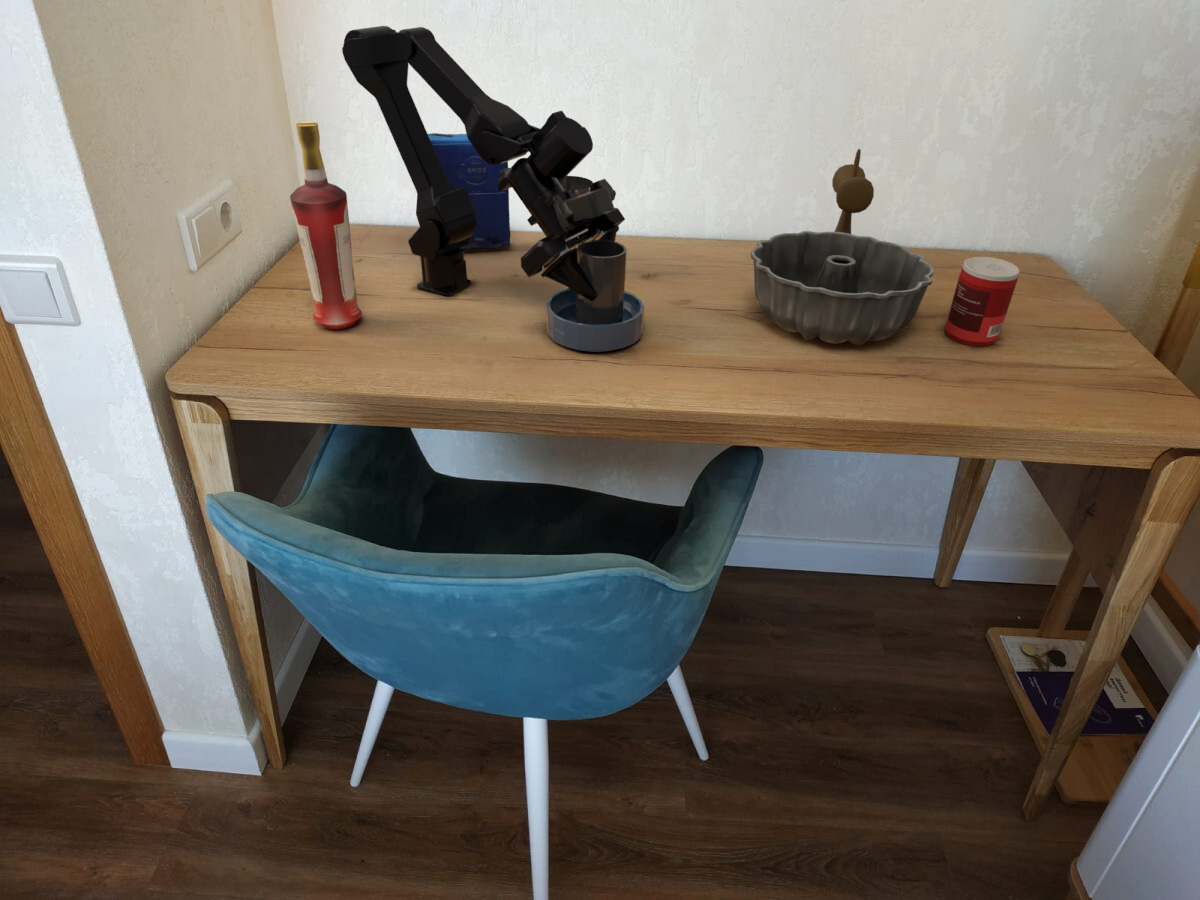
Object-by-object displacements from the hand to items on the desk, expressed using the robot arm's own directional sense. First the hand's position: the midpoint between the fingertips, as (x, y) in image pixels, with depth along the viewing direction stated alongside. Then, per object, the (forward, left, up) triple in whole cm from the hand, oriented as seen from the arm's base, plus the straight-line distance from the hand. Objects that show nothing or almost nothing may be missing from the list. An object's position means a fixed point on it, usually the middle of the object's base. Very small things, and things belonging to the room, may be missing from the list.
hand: (608, 290), depth 117 cm
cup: (-1, 0, -7) cm, 7 cm away
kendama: (+22, +47, -7) cm, 52 cm away
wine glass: (-17, +19, -7) cm, 26 cm away
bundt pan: (+27, +23, -7) cm, 36 cm away
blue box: (-37, +19, -7) cm, 42 cm away
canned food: (+47, +29, -7) cm, 55 cm away
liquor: (-36, -16, -7) cm, 40 cm away
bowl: (-2, 0, -7) cm, 8 cm away
